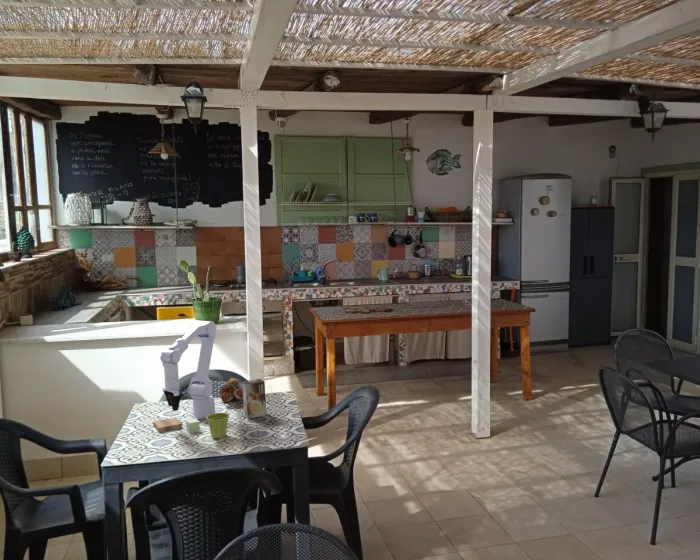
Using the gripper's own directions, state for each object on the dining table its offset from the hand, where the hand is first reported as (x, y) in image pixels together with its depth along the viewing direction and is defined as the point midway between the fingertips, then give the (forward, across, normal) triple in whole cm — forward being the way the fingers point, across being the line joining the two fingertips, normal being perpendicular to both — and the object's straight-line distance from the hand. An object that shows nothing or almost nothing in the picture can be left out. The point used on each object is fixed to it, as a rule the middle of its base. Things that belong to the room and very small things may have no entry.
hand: (173, 408), depth 264 cm
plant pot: (+10, +19, +14) cm, 25 cm away
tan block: (+10, -5, -2) cm, 11 cm away
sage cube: (+10, +6, +6) cm, 13 cm away
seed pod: (+10, -27, +35) cm, 46 cm away
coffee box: (+10, +1, +36) cm, 38 cm away
